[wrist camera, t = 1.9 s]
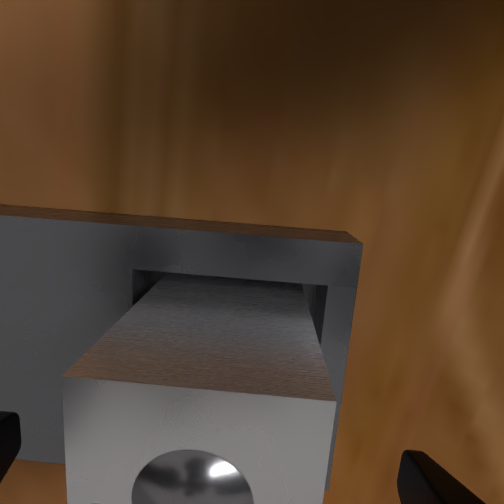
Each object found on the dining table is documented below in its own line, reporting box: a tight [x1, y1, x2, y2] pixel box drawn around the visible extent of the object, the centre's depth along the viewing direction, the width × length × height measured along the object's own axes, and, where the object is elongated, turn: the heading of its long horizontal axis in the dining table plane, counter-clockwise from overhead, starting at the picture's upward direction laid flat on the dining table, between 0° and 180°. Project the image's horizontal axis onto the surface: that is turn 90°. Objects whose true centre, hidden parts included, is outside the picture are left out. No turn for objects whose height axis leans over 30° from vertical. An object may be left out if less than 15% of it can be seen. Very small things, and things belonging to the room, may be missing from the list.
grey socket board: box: [0, 204, 363, 490], centre depth 13 cm, size 20×9×3 cm, turn 86°
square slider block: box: [61, 273, 337, 504], centre depth 10 cm, size 5×5×7 cm
